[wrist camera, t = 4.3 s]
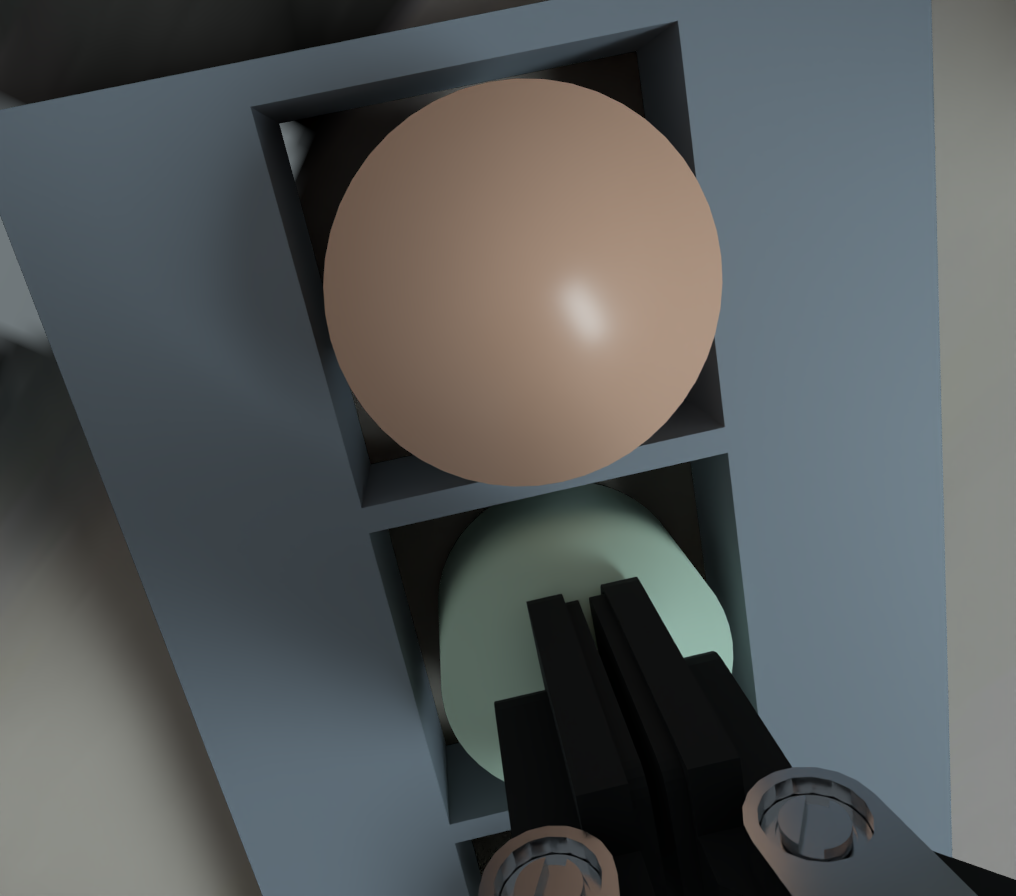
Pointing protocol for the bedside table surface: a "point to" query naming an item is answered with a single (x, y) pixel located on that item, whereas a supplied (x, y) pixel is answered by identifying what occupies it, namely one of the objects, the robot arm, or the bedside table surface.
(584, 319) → the terracotta button
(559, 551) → the sage button
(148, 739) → the bedside table surface
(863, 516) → the button board
